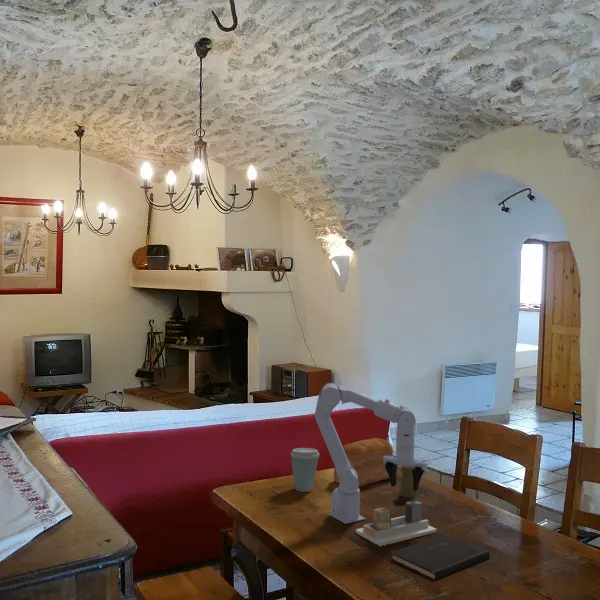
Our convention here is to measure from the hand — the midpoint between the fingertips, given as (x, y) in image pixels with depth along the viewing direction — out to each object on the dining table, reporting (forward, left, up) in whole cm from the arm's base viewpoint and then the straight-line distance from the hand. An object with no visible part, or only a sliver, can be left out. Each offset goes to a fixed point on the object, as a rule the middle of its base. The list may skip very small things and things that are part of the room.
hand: (404, 488), depth 213 cm
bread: (-41, +15, -11) cm, 45 cm away
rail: (+7, -9, -10) cm, 15 cm away
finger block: (+7, -15, -9) cm, 19 cm away
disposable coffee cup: (-42, -12, -11) cm, 45 cm away
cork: (-18, +17, -11) cm, 27 cm away
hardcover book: (+28, -10, -11) cm, 32 cm away
